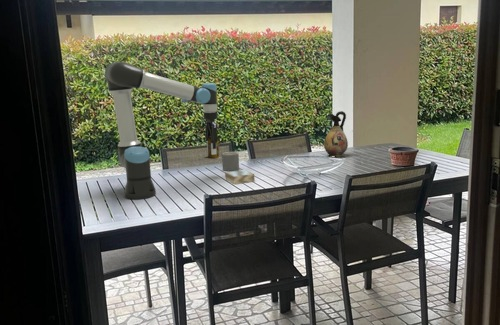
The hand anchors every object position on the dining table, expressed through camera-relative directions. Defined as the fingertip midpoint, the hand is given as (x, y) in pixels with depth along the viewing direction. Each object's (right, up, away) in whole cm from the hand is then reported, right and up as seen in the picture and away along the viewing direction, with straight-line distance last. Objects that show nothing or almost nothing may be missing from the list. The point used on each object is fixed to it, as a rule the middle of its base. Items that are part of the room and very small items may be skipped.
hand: (211, 153), depth 252 cm
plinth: (+16, -15, -5) cm, 22 cm away
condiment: (0, -3, +1) cm, 3 cm away
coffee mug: (+9, -9, +23) cm, 26 cm away
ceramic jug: (+79, -1, +51) cm, 94 cm away
